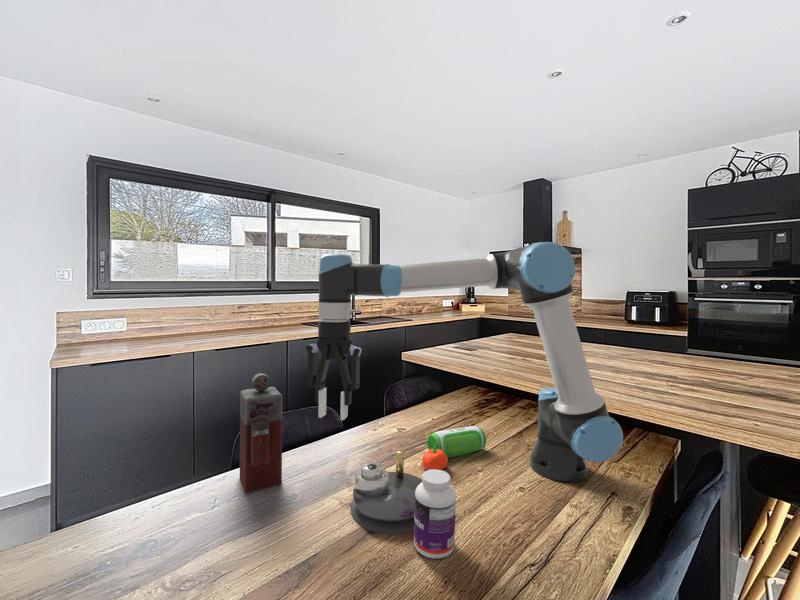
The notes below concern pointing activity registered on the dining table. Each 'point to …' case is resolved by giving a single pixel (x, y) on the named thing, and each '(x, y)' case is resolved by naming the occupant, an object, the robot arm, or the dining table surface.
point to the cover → (371, 480)
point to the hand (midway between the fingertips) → (333, 416)
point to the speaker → (458, 440)
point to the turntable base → (381, 524)
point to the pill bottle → (435, 515)
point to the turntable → (391, 498)
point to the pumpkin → (434, 459)
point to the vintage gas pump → (260, 435)
